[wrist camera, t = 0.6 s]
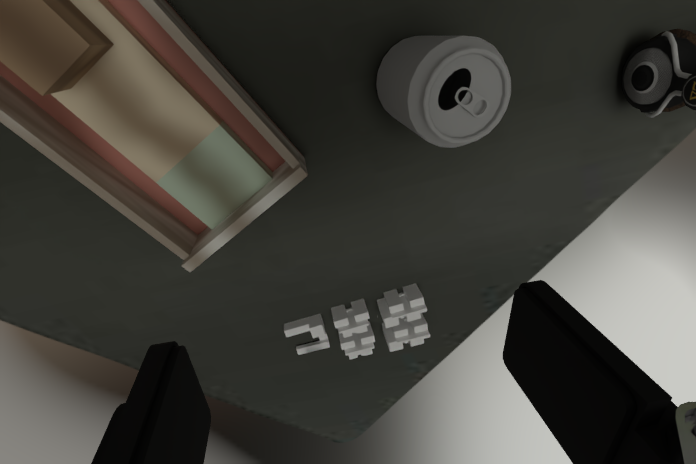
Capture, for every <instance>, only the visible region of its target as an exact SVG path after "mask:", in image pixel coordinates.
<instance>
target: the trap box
mask: <svg viewBox="0 0 696 464" xmlns="http://www.w3.org/2000/svg"><path fill="white" fill-rule="evenodd" d="M70 1H71V2H72V3H73V4H74V5H75V6H76V7H77V8H78V9H79V10H80V11H81V12H82V13H83V14H84V15H85V16H86V17H87V18H88V19H89V20H90V21H91V22H92V23H93V24H94V25H95V26H96V27H97V28H98V29H99V30H100V31H101V32H102V33H103V34H104V35H105V36H106V37H107V38H108V39H109V40H110V41H111V42H112V43H113V44H114V45H113V46H112V47H111V48H110V49H109V50H108V51H107V52H106V53H105V54H104V55H103V56H102V57H101V58H100V60H99V61H98V62H97V63H96V64H95V65H94V66H93V67H92V68H91V69H90V70H89V71H88V72H87V73H86V74H85V75H84V76H83V77H82V78H81V79H80V80H79V81H78V82H77V83H76V84H75V85H74V86H73V87H72V88H71V89H68V90H64V91H60V92H56V93H52V94H48V95H44V96H42V95H41V94H39V93H38V92H37V91H36V90H35V89H33V88H32V87H31V86H30V85H28V84H27V83H26V82H25V81H24V80H22V79H21V78H20V77H19V76H18V75H16V74H15V73H14V72H13V71H12V70H10V69H9V68H8V67H7V66H6V65H4V64H3V63H2V62H1V61H0V122H1V123H3V124H4V125H5V126H7V127H8V128H9V129H11V130H12V131H13V132H15V133H16V134H17V135H18V136H20V137H21V138H22V139H24V140H25V141H26V142H28V143H29V144H30V145H32V146H33V147H34V148H36V149H37V150H38V151H40V152H41V153H42V154H44V155H45V156H46V157H48V158H49V159H50V160H52V161H53V162H54V163H56V164H57V165H58V166H60V167H61V168H62V169H64V170H65V171H66V172H68V173H69V174H70V175H72V176H73V177H74V178H75V179H77V180H78V181H79V182H81V183H82V184H83V185H85V186H86V187H87V188H89V189H90V190H91V191H93V192H94V193H95V194H97V195H98V196H99V197H101V198H102V199H103V200H105V201H106V202H107V203H109V204H110V205H111V206H113V207H114V208H115V209H117V210H118V211H119V212H121V213H122V214H123V215H125V216H126V217H127V218H128V219H130V220H131V221H132V222H134V223H135V224H136V225H138V226H139V227H140V228H142V229H143V230H144V231H146V232H147V233H148V234H150V235H151V236H152V237H154V238H155V239H156V240H158V241H159V242H160V243H162V244H163V245H164V246H166V247H167V248H168V249H170V250H171V251H172V252H174V253H175V254H176V255H178V256H179V257H180V258H182V259H183V260H184V261H183V264H182V267H183V268H185V269H186V270H187V271H189V272H191V271H193V270H194V269H195V268H196V267H197V266H199V265H200V264H201V263H202V262H203V261H205V260H206V259H207V258H208V257H210V256H211V255H212V254H213V253H214V252H216V251H217V250H218V249H219V248H220V247H222V246H223V245H224V244H225V243H227V242H228V241H229V240H230V239H231V238H233V237H234V236H235V235H236V234H237V233H239V232H240V231H241V230H242V229H244V228H245V227H246V226H247V225H248V224H250V223H251V222H252V221H253V220H254V219H256V218H257V217H258V216H259V215H261V214H262V213H263V212H264V211H265V210H267V209H268V208H269V207H270V206H271V205H273V204H274V203H275V202H276V201H278V200H279V199H280V198H281V197H282V196H284V195H285V194H286V193H287V192H288V191H290V190H291V189H292V188H293V187H295V186H296V185H297V184H298V183H299V182H301V181H302V180H303V179H304V178H305V177H307V176H308V172H307V167H306V163H305V158H304V156H303V155H302V154H301V153H300V152H299V150H298V149H297V148H296V147H295V146H294V145H293V144H292V142H291V141H290V140H289V139H288V138H287V137H286V136H285V135H284V133H283V132H282V131H281V130H280V129H279V128H278V127H277V126H276V124H275V123H274V122H273V121H272V120H271V119H270V118H269V116H268V115H267V114H266V113H265V112H264V111H263V110H262V109H261V107H260V106H259V105H258V104H257V103H256V102H255V101H254V100H253V98H252V97H251V96H250V95H249V94H248V93H247V92H246V90H245V89H244V88H243V87H242V86H241V85H240V84H239V83H238V81H237V80H236V79H235V78H234V77H233V76H232V75H231V74H230V72H229V71H228V70H227V69H226V68H225V67H224V66H223V64H222V63H221V62H220V61H219V60H218V59H217V58H216V57H215V55H214V54H213V53H212V52H211V51H210V50H209V49H208V48H207V46H206V45H205V44H204V43H203V42H202V41H201V40H200V38H199V37H198V36H197V35H196V34H195V33H194V32H193V31H192V29H191V28H190V27H189V26H188V25H187V24H186V23H185V22H184V20H183V19H182V18H181V17H180V16H179V15H178V14H177V12H176V11H175V10H174V9H173V8H172V7H171V6H170V5H169V3H168V2H167V1H166V0H70Z"/></svg>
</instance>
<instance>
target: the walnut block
mask: <svg viewBox="0 0 696 464" xmlns="http://www.w3.org/2000/svg"><path fill="white" fill-rule="evenodd" d="M113 45H114V44H113V43H112V42H111V41H110V40H109V39H108V38H107V37H106V36H105V35H104V34H103V33H102V32H101V31H100V30H99V29H98V28H97V27H96V26H95V25H94V24H93V23H92V22H91V21H90V20H89V19H88V18H87V17H86V16H85V15H84V14H83V13H82V12H81V11H80V10H79V9H78V8H77V7H76V6H75V5H74V4H73V3H72V2H71V1H70V0H0V61H1V62H2V63H3V64H4V65H6V66H7V67H8V68H9V69H10V70H12V71H13V72H14V73H15V74H16V75H18V76H19V77H20V78H21V79H22V80H24V81H25V82H26V83H27V84H28V85H30V86H31V87H32V88H33V89H35V90H36V91H37V92H38V93H39V94H41V95H42V96H44V95H48V94H52V93H56V92H60V91H64V90H68V89H71V88H72V87H73V86H74V85H75V84H76V83H77V82H78V81H79V80H80V79H81V78H82V77H83V76H84V75H85V74H86V73H87V72H88V71H89V70H90V69H91V68H92V67H93V66H94V65H95V64H96V63H97V62H98V61H99V60H100V58H101V57H102V56H103V55H104V54H105V53H106V52H107V51H108V50H109V49H110V48H111V47H112V46H113Z"/></svg>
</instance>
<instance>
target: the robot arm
mask: <svg viewBox="0 0 696 464" xmlns="http://www.w3.org/2000/svg"><path fill="white" fill-rule="evenodd" d="M503 360H504V363H505V365H506V367H507V369H508V370H509V371H510V373H511V374H512V376H513V377H514V379H515V380H516V382H517V383H518V385H519V386H520V387H521V389H522V390H523V392H524V393H525V394H526V396H527V397H528V399H529V400H530V402H531V403H532V405H533V406H534V408H535V409H536V411H537V412H538V413H539V415H540V416H541V418H542V419H543V421H544V422H545V424H546V425H547V426H548V428H549V429H550V431H551V432H552V434H553V435H554V437H555V438H556V439H557V441H558V442H559V444H560V445H561V447H562V448H563V450H564V451H565V452H566V454H567V455H568V457H569V458H570V460H571V461H572V463H573V464H696V402H687V403H684V404H681V405H680V406H679V407H677V406H676V405H675V404H674V403H673V402H672V401H671V399H672V397H671V396H670V395H669V394H668V393H666V392H665V391H664V390H663V389H662V388H661V387H660V386H659V385H658V384H656V383H655V382H654V381H653V380H652V379H651V378H650V377H649V376H648V375H647V374H646V373H645V372H644V371H642V370H641V369H640V368H639V367H638V366H637V365H635V363H634V362H633V361H631V360H630V359H629V358H628V357H627V356H626V355H625V354H624V353H623V352H621V350H619V349H618V348H617V347H616V346H615V345H614V344H613V343H612V342H611V341H610V340H608V339H607V338H606V337H605V336H604V335H603V334H602V333H601V332H600V331H599V330H598V329H596V328H595V327H594V326H593V325H592V324H591V323H590V322H589V321H588V320H586V319H585V318H584V317H583V316H582V315H581V314H580V313H579V312H578V311H577V310H576V309H574V308H573V307H572V306H571V305H570V304H569V303H568V302H567V301H565V299H564V298H562V297H561V296H560V295H559V294H558V293H557V292H556V291H555V290H554V289H553V288H551V287H550V286H549V285H548V284H547V283H546V282H544V281H542V280H540V281H534V282H527V283H522V284H521V285H520V286H519V289H517V290H516V291H515V293H514V298H513V303H512V308H511V313H510V319H509V324H508V330H507V334H506V340H505V345H504V351H503ZM210 423H211V415H210V409H209V407H208V404H207V402H206V399H205V396H204V394H203V391H202V389H201V386H200V384H199V381H198V378H197V376H196V373H195V371H194V368H193V366H192V363H191V361H190V358H189V355H188V353H187V350H186V348H185V347H184V346H178V344H177V343H176V342H175V341H173V342H167V343H161V344H155V345H151V346H150V347H149V349H148V351H147V353H146V356H145V358H144V361H143V363H142V365H141V368H140V370H139V372H138V375H137V377H136V380H135V382H134V385H133V387H132V389H131V391H130V394H129V396H128V399H127V401H126V403H123V404H121V405H120V406H119V407H118V408H117V409H116V410H115V412H114V414H113V416H112V418H111V420H110V423H109V425H108V427H107V429H106V432H105V434H104V436H103V439H102V441H101V443H100V445H99V447H98V450H97V452H96V454H95V456H94V459H93V461H92V463H91V464H203V463H204V458H205V452H206V446H207V441H208V435H209V429H210Z"/></svg>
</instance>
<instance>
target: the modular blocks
mask: <svg viewBox="0 0 696 464" xmlns="http://www.w3.org/2000/svg"><path fill="white" fill-rule="evenodd" d="M403 291H404V292H403V293H400V294H398V292H397V289H394V290H391V291H388V292H384V293H383V294H384V298H382V299H378V300H377V303H378V307H379V311H380V313H381V316H382V319H383V322H384V323H382V328H383V333H384V336H385V339H386V341H387V344H388V347H389V350H390V352H392V351H396V350H400V349H403V342H405V343H408V341H409V343H410V345H411V347H412V346H416V345H420V344H424V339H425V338H429V337H430V333H429V331H428V327H427V322H426V320H425V318H424V316H423V314H422V313H423V312H426V311H427V308H426V306H425V304H424V298H423V296H422V294H421V292H420V290H419V288H418V287H417V285H416V283H415V284H412V285H408V286H405V287H403ZM351 306H352V308H349V309H345V306H344V304H343V305H340V306H336V307H333V308H331V311H332V317H333V322H334V325H335V328H338V333H339V338H340V343H341V347H342V350H345V355H349V359H354V358H358V355H360V354H361V355H362V356H363V355H364V356H366V355H369V354H373V352H372V349H374V344H373V342H375V338H374V334H373V331H372V328H371V324H370V322H368V319H370V318H369V314H368V310H367V307H366V304H365V301H364V299H360V300H357V301H353V302H351ZM404 316H405V317H406V318H404ZM307 331H311V334H312V337H313V338H316V337H319V339H320V341H316V342H312V343H308V344H304V345H300V346H296V350H297V353H298V355H300V354H304V353H308V352H312V351H316V350H320V349H324V348H328V347H330V345H329V340H328V337H327V333H325V328H324V322H323V319H322V317H321V314H317V315H313V316H310V317H306V318H303V319H300V320H296V321H293V322H289V323H286V324H284V332H285V335H286V337H290V336H293V335H296V334H300V333H303V332H307Z"/></svg>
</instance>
